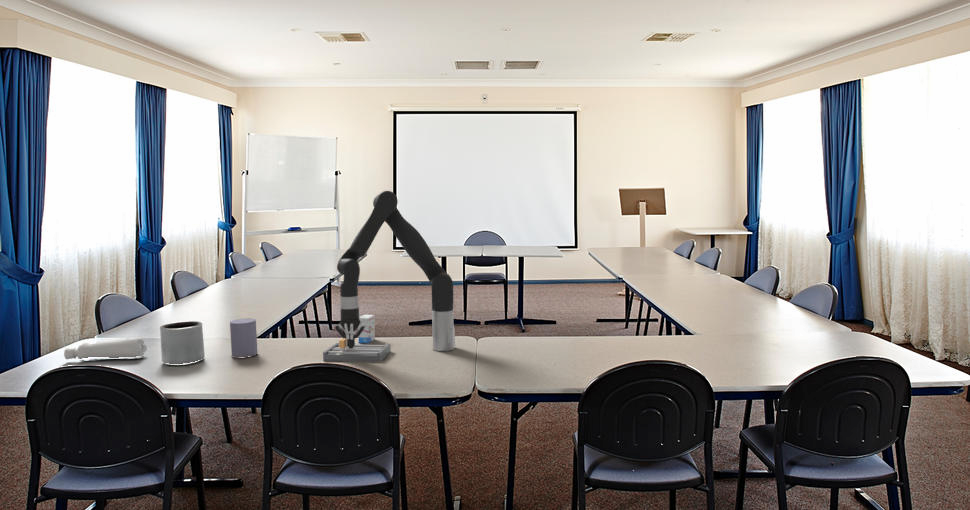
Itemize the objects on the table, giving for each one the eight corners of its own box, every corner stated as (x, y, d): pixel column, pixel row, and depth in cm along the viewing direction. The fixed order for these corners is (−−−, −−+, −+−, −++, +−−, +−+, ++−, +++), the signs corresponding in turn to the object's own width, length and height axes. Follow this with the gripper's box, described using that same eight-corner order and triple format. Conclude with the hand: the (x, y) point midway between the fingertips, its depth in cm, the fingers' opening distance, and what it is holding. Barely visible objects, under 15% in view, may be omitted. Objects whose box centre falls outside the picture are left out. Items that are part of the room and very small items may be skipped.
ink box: (368, 343, 291) (367, 318, 290) (358, 343, 292) (357, 317, 291) (375, 339, 300) (374, 314, 299) (365, 338, 301) (364, 314, 300)
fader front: (346, 350, 268) (346, 338, 268) (344, 352, 265) (344, 340, 265) (342, 350, 268) (341, 338, 268) (339, 352, 265) (339, 340, 265)
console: (390, 351, 276) (390, 343, 276) (380, 361, 261) (380, 353, 260) (336, 350, 279) (336, 342, 279) (323, 360, 263) (322, 352, 263)
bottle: (149, 347, 278) (74, 352, 273) (143, 332, 272) (66, 338, 268) (144, 363, 271) (67, 369, 266) (137, 348, 265) (58, 354, 261)
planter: (213, 358, 270) (211, 321, 269) (184, 368, 255) (181, 330, 254) (183, 355, 276) (180, 319, 274) (152, 365, 260) (150, 327, 259)
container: (262, 355, 274) (260, 320, 272) (238, 360, 267) (236, 324, 265) (250, 351, 281) (248, 317, 279) (227, 355, 274) (225, 321, 272)
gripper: (367, 305, 267) (369, 345, 269) (337, 304, 269) (338, 345, 271) (362, 308, 260) (363, 350, 262) (330, 308, 261) (332, 349, 263)
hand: (351, 347), depth 266 cm, fingers closed
